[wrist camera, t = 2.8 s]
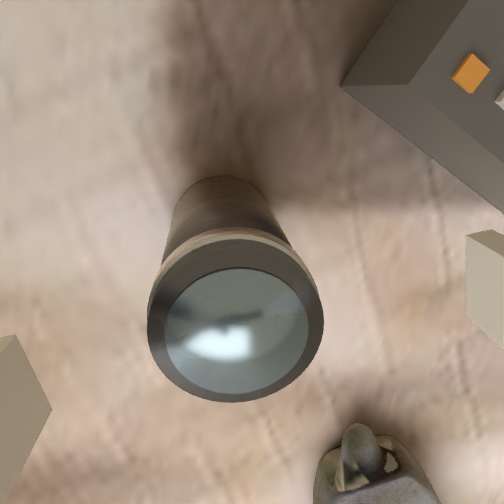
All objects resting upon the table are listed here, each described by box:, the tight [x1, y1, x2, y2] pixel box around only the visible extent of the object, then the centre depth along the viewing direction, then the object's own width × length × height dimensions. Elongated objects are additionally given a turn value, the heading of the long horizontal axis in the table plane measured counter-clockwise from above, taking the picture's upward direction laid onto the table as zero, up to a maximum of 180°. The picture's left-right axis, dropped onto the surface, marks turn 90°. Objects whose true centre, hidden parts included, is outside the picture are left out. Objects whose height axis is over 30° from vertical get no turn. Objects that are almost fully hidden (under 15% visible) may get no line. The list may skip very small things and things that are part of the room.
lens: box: [147, 176, 324, 403], centre depth 16 cm, size 5×5×10 cm
